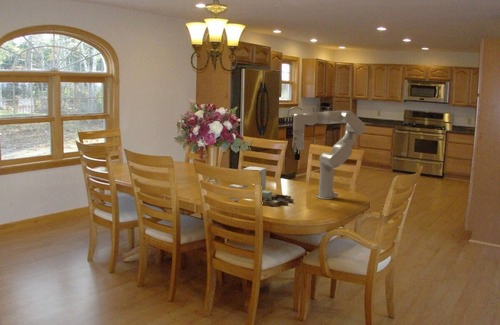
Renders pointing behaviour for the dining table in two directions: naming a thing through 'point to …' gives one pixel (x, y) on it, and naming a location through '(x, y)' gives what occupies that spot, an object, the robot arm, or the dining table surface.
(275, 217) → the dining table surface
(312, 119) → the robot arm
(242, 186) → the ink box
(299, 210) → the dining table surface
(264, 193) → the block
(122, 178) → the dining table surface
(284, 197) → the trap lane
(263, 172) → the supplement box
